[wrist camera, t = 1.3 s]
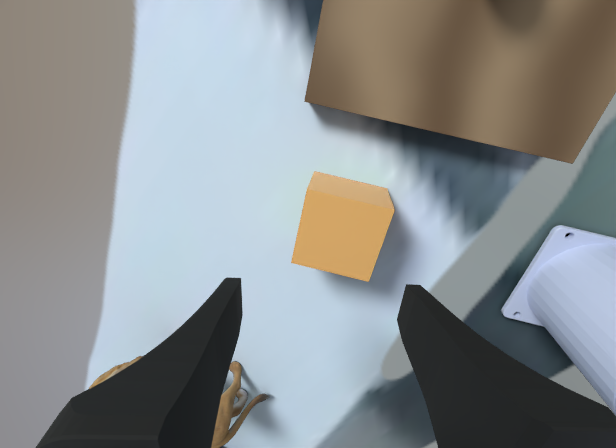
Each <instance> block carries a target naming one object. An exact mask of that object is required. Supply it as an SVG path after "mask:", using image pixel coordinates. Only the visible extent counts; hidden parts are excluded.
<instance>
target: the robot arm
mask: <svg viewBox="0 0 616 448" xmlns="http://www.w3.org/2000/svg"><path fill="white" fill-rule="evenodd" d="M567 233H570V234H569V235H568V236H566V237H565V235H566V234H567ZM501 311H502V313H503V315H504V316H505V317H507V318H511V319H515V320H519V321H523V322H527V323H531V324H536V325H540V326H544V327H545V328H546V329H547V330H548V332H549V333H550V334H551V335H552V337H553V338H554V339H555V340H556V342H557V343H558V344H559V345H560V347H561V348H562V349H563V350H564V352H565V353H566V354H567V355H568V357H569V358H570V359H571V360H572V362H573V363H574V364H575V365H576V367H577V368H578V369H579V370H580V372H581V373H582V374H583V375H584V377H585V378H586V379H587V380H588V382H589V383H590V384H591V385H592V387H593V388H594V389H595V390H596V391H597V393H598V394H599V395H600V396H601V398H602V399H603V400H604V401H605V403H606V404H607V405H608V406H609V407H610V409H611V410H612V411H613V412H612V411H611V410H610V409H609V408H608V407H606V406H604V405H602V404H600V403H597V402H595V401H593V400H591V399H588V398H586V397H584V396H582V395H580V394H578V393H576V392H573V391H571V390H569V389H567V388H565V387H563V386H561V385H559V384H558V383H556V382H554V381H552V380H550V379H548V378H546V377H544V376H542V375H541V374H539V373H537V372H535V371H533V370H532V369H530V368H528V367H527V366H525V365H523V364H522V363H520V362H518V361H517V360H515V359H513V358H512V357H510V356H509V355H507V354H506V353H504V352H503V351H501V350H500V349H498V348H497V347H495V346H494V345H492V344H491V343H489V342H488V341H487V340H485V339H484V338H482V337H481V336H480V335H478V334H477V333H476V332H475V331H473V330H472V329H471V328H469V327H468V326H467V325H466V324H464V323H463V322H462V321H461V320H460V319H458V318H457V317H456V316H455V315H454V314H453V313H451V312H450V311H449V310H448V309H447V308H445V307H444V306H443V305H442V304H441V303H440V302H439V301H437V299H435V298H434V297H433V296H432V295H431V294H430V293H429V292H428V291H427V290H425V289H424V288H423V287H422V286H421V285H407V284H406V287H405V291H404V295H403V299H402V303H401V306H400V310H399V314H398V318H397V322H398V326H399V330H400V334H401V338H402V341H403V344H404V347H405V349H406V352H407V354H408V357H409V360H410V362H411V365H412V367H413V370H414V372H415V375H416V377H417V380H418V382H419V385H420V387H421V390H422V393H423V396H424V398H425V401H426V405H427V408H428V412H429V415H430V419H431V422H432V426H433V429H434V433H435V437H436V441H437V444H438V448H616V416H615V415H616V238H613V237H609V236H605V235H601V234H597V233H592V232H588V231H584V230H580V229H576V228H571V227H567V226H563V225H559V226H556V227H554V228H553V229H552V230H551V232H550V233H549V235H548V236H547V238H546V240H545V241H544V243H543V244H542V246H541V247H540V249H539V251H538V252H537V254H536V255H535V257H534V259H533V260H532V262H531V263H530V265H529V267H528V268H527V270H526V271H525V273H524V274H523V276H522V278H521V279H520V281H519V282H518V284H517V286H516V287H515V289H514V290H513V292H512V293H511V295H510V297H509V298H508V300H507V301H506V303H505V305H504V306H503V308H502V310H501ZM515 312H517V313H516V314H514V313H515ZM241 320H242V293H241V278H225V279H224V280H223V282H222V283H221V284H220V285H219V287H218V288H217V289H216V290H215V291H214V293H213V294H212V295H211V296H210V297H209V298H208V299H207V300H206V302H205V303H204V304H203V305H202V306H201V307H200V308H199V309H198V310H197V311H196V312H195V313H194V314H193V315H192V316H191V317H190V318H189V319H188V320H187V321H186V322H185V323H184V324H183V325H182V326H181V327H180V328H179V329H177V330H176V331H175V332H174V333H173V334H172V335H171V336H169V337H168V338H167V339H166V340H165V341H163V342H162V343H161V344H159V345H158V346H157V347H155V348H154V349H153V350H151V351H150V352H149V353H147V354H146V355H144V356H143V357H142V358H140V359H139V360H137V361H136V362H134V363H133V364H131V365H130V366H128V367H127V368H125V369H123V370H122V371H120V372H118V373H117V374H115V375H113V376H112V377H110V378H108V379H107V380H105V381H103V382H101V383H99V384H97V385H96V386H94V387H92V388H90V389H88V390H86V391H84V392H82V393H81V394H79V395H77V396H75V397H73V398H71V400H70V401H69V402H68V403H67V405H66V406H65V407H64V408H63V410H62V411H61V412H60V413H59V415H58V416H57V418H56V419H55V420H54V422H53V424H52V425H51V426H50V428H49V429H48V431H47V432H46V433H45V435H44V436H43V438H42V439H41V441H40V442H39V444H38V445H37V446H36V448H211V446H212V441H213V435H214V430H215V425H216V420H217V415H218V410H219V405H220V400H221V395H222V392H223V388H224V384H225V381H226V377H227V374H228V371H229V367H230V364H231V361H232V357H233V354H234V351H235V347H236V344H237V340H238V337H239V332H240V326H241Z"/></svg>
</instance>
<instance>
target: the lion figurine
mask: <svg viewBox="0 0 616 448" xmlns="http://www.w3.org/2000/svg"><path fill="white" fill-rule="evenodd" d="M142 357H143V356H139V357H137V358H136V359H134V360H132V361H131V362H127V363H123V364H121V365H117V366H115V367H113V368H112V369H110V370H109V371H107V372H106V373H104V374H102V375H101V376H100V377H98V378H97V379H96V380H95V381H94V383H93V384H92V385H91V386H90V387H89V389H90V388H92V387H94V386H96V385H97V384H99V383H101V382H103V381H105V380H107V379H108V378H110V377H112V376H113V375H115V374H117V373H118V372H120V371H122V370H123V369H125V368H127V367H128V366H130V365H131V364H133V363H134V362H136V361H137V360H139V359H140V358H142ZM229 370H230V371H231V372H232V373H233V382H232V384H231V386H230V387H229V388H228V389H227V390H226V391H225V392H224V393H223V394H222V395H221V400H220V405H219V410H218V415H217V420H216V425H215V430H214V435H213V441H212V446H211V448H218V447H221V446H223V445H225V444H226V443H227V442H228V441H229V440H230V439H231V438H232V437H233V436H234V435H235V434H236V432H237V431H238V429H239V428H240V426H241V424H242V423H243V421H244V419H245V418H246V416H247V414H248V413H249V411H250V410H251V409H252V407H253V406H255V405H256V404H257V403H259V402H262V401H264V400H266V399H268V398H269V396H268V395H266V394H260V395H258V396H257V397H255V398H254V399H253V400H252V401H251V402H250V403H249V404H248V405H247V407H246V408H245V409H244V411H243V412H242V413H241V411H242V409H243V407H244V405H245V403H246V401H247V396H248V395H247V392H246V391H245V390H243V389H240V387H241V371H242V368H241V365H240V364H239V363H238V362H235V361H234V362H232V363H231V364H230V367H229ZM235 395H236V397H237V398H239V400H238V402H237V403H235V404H234V398H235ZM240 413H241V415H240V416H239V418H238V419H237V420H236V421H235V423H234V424H233V426H232V427H231V428H230V429H229V426H230V422H231V418H233V417H235V416H238V415H239V414H240ZM228 429H229V430H228Z"/></svg>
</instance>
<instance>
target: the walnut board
mask: <svg viewBox="0 0 616 448" xmlns="http://www.w3.org/2000/svg"><path fill="white" fill-rule="evenodd" d="M615 92H616V0H323V5H322V10H321V16H320V21H319V26H318V32H317V37H316V42H315V48H314V53H313V58H312V64H311V69H310V74H309V80H308V85H307V91H306V96H305V101H304V102H309V103H313V104H317V105H322V106H326V107H330V108H335V109H339V110H343V111H348V112H352V113H356V114H360V115H365V116H369V117H373V118H378V119H382V120H386V121H391V122H395V123H399V124H404V125H408V126H412V127H416V128H421V129H425V130H429V131H434V132H438V133H442V134H447V135H451V136H455V137H460V138H464V139H468V140H472V141H477V142H481V143H485V144H490V145H494V146H498V147H503V148H507V149H511V150H516V151H520V152H524V153H528V154H533V155H537V156H541V157H546V158H550V159H555V160H559V161H563V162H567V163H573V162H574V161H575V159H576V157H577V156H578V154H579V152H580V151H581V149H582V147H583V146H584V144H585V142H586V140H587V139H588V137H589V136H590V134H591V132H592V131H593V129H594V127H595V126H596V124H597V122H598V121H599V119H600V117H601V116H602V114H603V112H604V111H605V109H606V107H607V106H608V104H609V102H610V101H611V99H612V97H613V96H614V94H615Z"/></svg>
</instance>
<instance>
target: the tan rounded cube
mask: <svg viewBox="0 0 616 448" xmlns="http://www.w3.org/2000/svg"><path fill="white" fill-rule="evenodd" d="M394 211H395V209H394V206H393V204H392V201H391V198H390V195H389V192H388V190H387V188H383V187H379V186H374V185H370V184H366V183H362V182H358V181H353V180H349V179H345V178H341V177H337V176H332V175H328V174H324V173H320V172H316V171H314V173H313V176H312V178H311V181H310V183H309V186H308V188H307V192H306V196H305V201H304V206H303V210H302V215H301V220H300V224H299V229H298V233H297V238H296V243H295V247H294V252H293V257H292V261H291V263H294V264H298V265H302V266H306V267H311V268H315V269H319V270H323V271H327V272H331V273H335V274H339V275H343V276H347V277H351V278H355V279H359V280H363V281H367V282H369V280H370V277H371V274H372V272H373V269H374V266H375V263H376V260H377V258H378V255H379V252H380V249H381V247H382V244H383V241H384V238H385V236H386V233H387V230H388V227H389V225H390V222H391V219H392V216H393V214H394Z"/></svg>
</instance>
